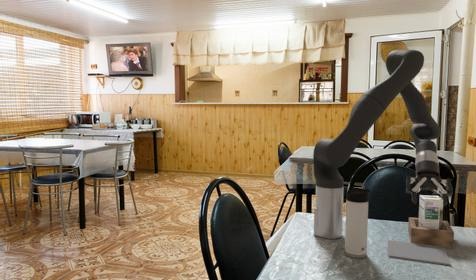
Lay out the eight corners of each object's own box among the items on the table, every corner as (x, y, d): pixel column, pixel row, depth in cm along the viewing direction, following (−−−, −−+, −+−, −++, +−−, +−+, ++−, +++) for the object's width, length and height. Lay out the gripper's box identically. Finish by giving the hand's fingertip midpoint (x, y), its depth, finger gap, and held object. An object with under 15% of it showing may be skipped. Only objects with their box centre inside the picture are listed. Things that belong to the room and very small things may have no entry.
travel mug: (369, 259, 103) (371, 192, 102) (345, 257, 105) (347, 191, 103) (366, 251, 110) (368, 187, 108) (343, 249, 111) (345, 186, 109)
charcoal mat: (388, 256, 105) (388, 255, 105) (387, 241, 117) (387, 240, 117) (450, 265, 99) (450, 264, 99) (443, 248, 111) (443, 246, 111)
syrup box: (422, 241, 117) (424, 198, 116) (417, 235, 123) (419, 194, 121) (441, 242, 116) (443, 199, 115) (435, 236, 122) (437, 194, 120)
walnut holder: (410, 242, 116) (411, 227, 116) (408, 230, 127) (408, 217, 127) (453, 248, 112) (454, 232, 111) (446, 235, 123) (447, 221, 122)
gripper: (406, 158, 130) (407, 196, 121) (451, 160, 125) (455, 200, 115) (404, 170, 136) (405, 207, 126) (447, 172, 130) (451, 211, 121)
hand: (429, 204), depth 121 cm, fingers open, 8 cm apart
